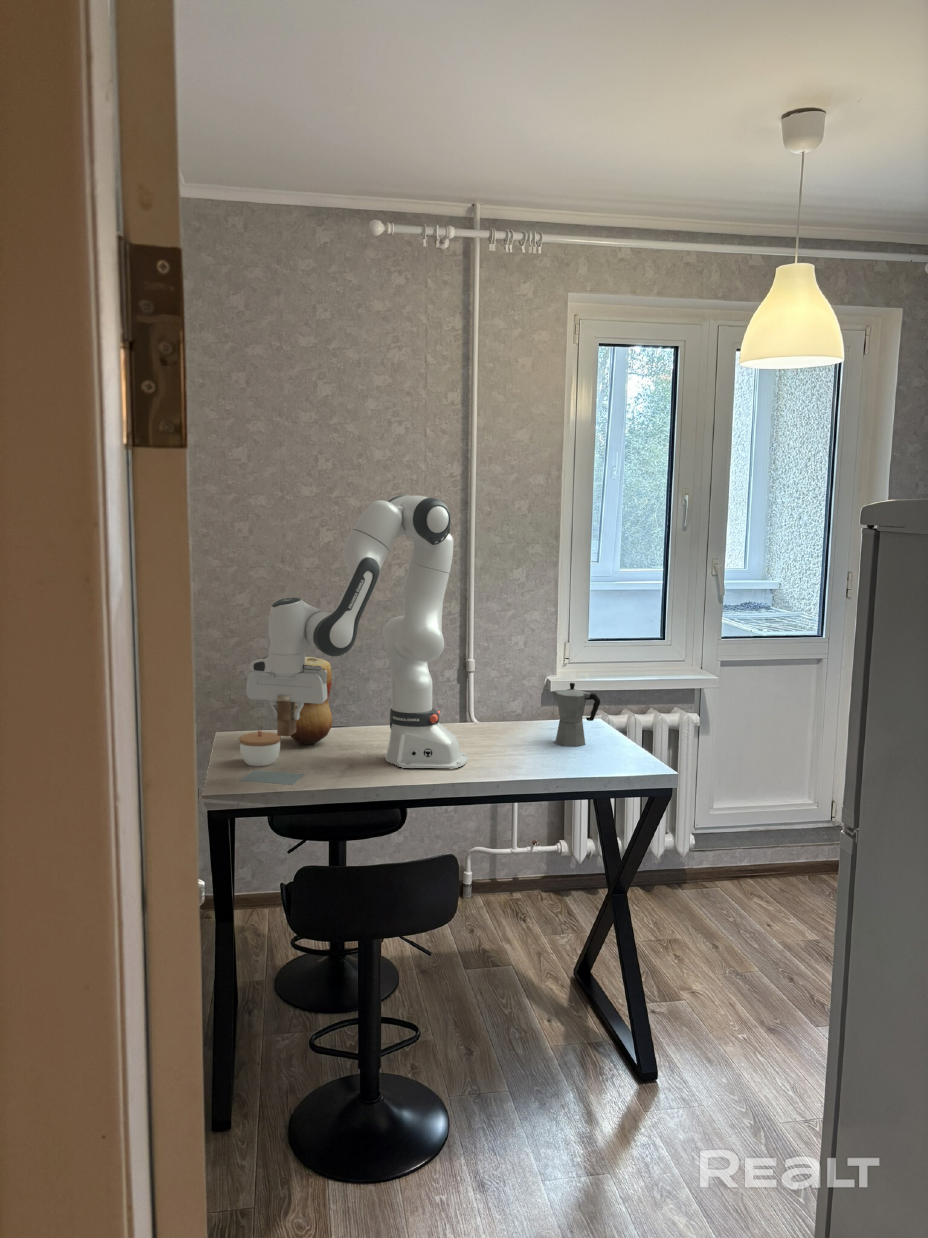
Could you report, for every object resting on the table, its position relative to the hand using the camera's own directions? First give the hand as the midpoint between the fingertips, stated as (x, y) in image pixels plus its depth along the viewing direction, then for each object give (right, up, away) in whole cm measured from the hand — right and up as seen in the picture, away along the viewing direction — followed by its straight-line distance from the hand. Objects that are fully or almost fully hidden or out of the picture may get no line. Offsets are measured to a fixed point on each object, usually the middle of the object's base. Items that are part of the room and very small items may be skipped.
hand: (287, 718), depth 231 cm
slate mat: (-4, -16, +3) cm, 17 cm away
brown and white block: (0, -4, 0) cm, 4 cm away
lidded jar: (-10, -14, +16) cm, 24 cm away
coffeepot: (+77, -12, +44) cm, 89 cm away
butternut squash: (-1, -11, +39) cm, 40 cm away
